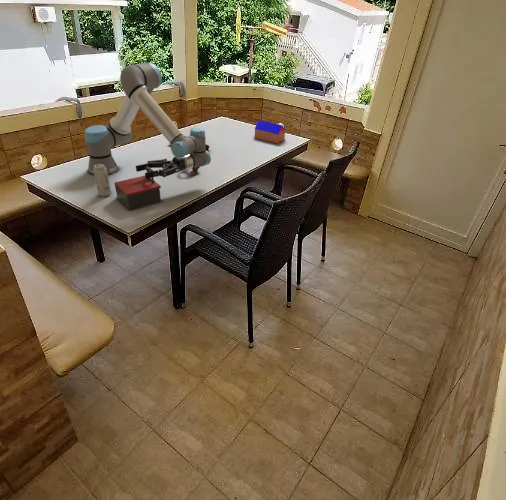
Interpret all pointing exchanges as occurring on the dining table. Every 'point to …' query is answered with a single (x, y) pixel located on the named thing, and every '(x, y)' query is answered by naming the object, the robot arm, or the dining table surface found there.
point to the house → (269, 132)
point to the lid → (137, 184)
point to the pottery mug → (194, 170)
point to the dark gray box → (138, 198)
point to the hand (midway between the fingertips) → (140, 172)
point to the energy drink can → (102, 180)
